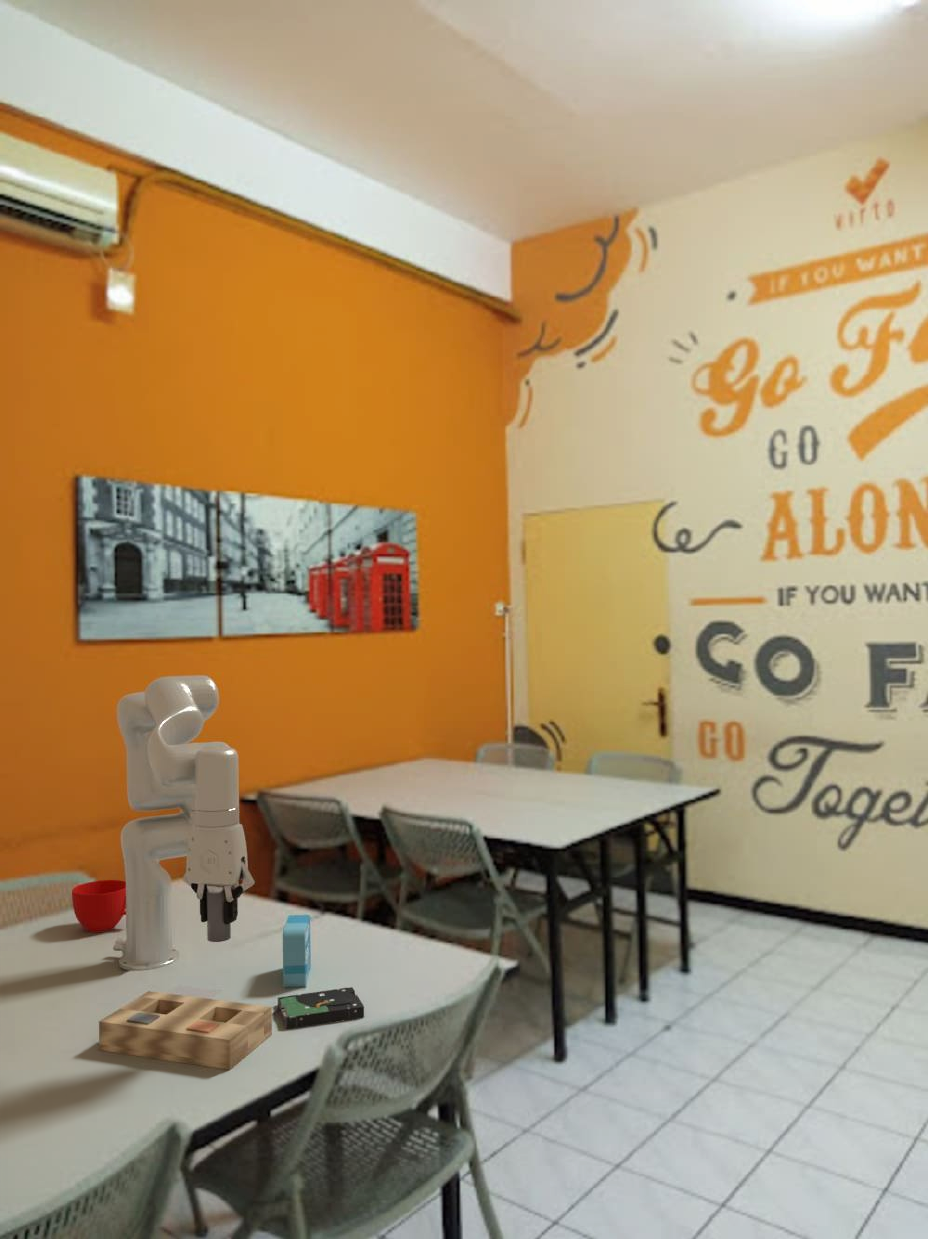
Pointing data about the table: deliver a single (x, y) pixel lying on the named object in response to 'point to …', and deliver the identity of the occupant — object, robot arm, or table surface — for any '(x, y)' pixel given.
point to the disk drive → (320, 1008)
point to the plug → (216, 914)
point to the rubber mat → (194, 992)
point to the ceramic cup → (99, 904)
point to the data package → (296, 951)
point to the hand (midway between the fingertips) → (218, 920)
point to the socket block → (186, 1029)
